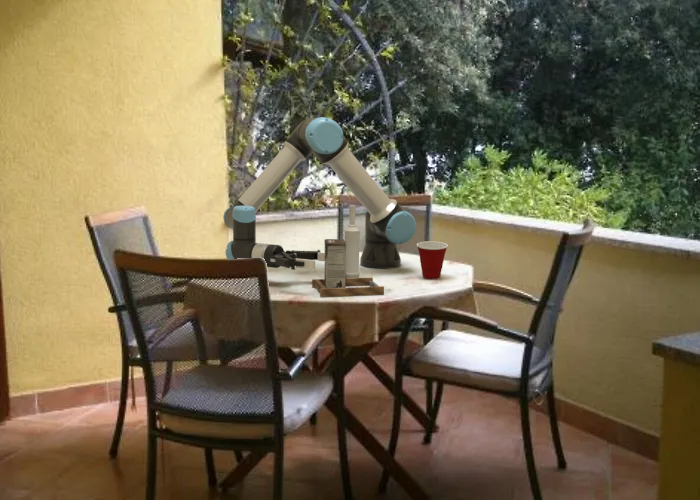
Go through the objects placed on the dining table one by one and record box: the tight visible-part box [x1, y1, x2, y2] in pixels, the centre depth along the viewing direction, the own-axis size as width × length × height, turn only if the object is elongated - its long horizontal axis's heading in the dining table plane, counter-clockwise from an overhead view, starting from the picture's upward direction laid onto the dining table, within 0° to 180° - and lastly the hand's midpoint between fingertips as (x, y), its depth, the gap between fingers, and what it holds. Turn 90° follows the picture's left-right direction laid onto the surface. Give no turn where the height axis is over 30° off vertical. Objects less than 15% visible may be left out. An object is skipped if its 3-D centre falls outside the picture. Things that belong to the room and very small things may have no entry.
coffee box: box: [324, 238, 347, 288], centre depth 250 cm, size 9×6×16 cm
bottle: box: [344, 204, 361, 278], centre depth 271 cm, size 5×5×25 cm
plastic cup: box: [416, 240, 449, 280], centre depth 273 cm, size 11×11×12 cm
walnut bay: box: [311, 276, 385, 298], centre depth 252 cm, size 20×15×2 cm
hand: (325, 261), depth 251 cm, fingers open, 13 cm apart
